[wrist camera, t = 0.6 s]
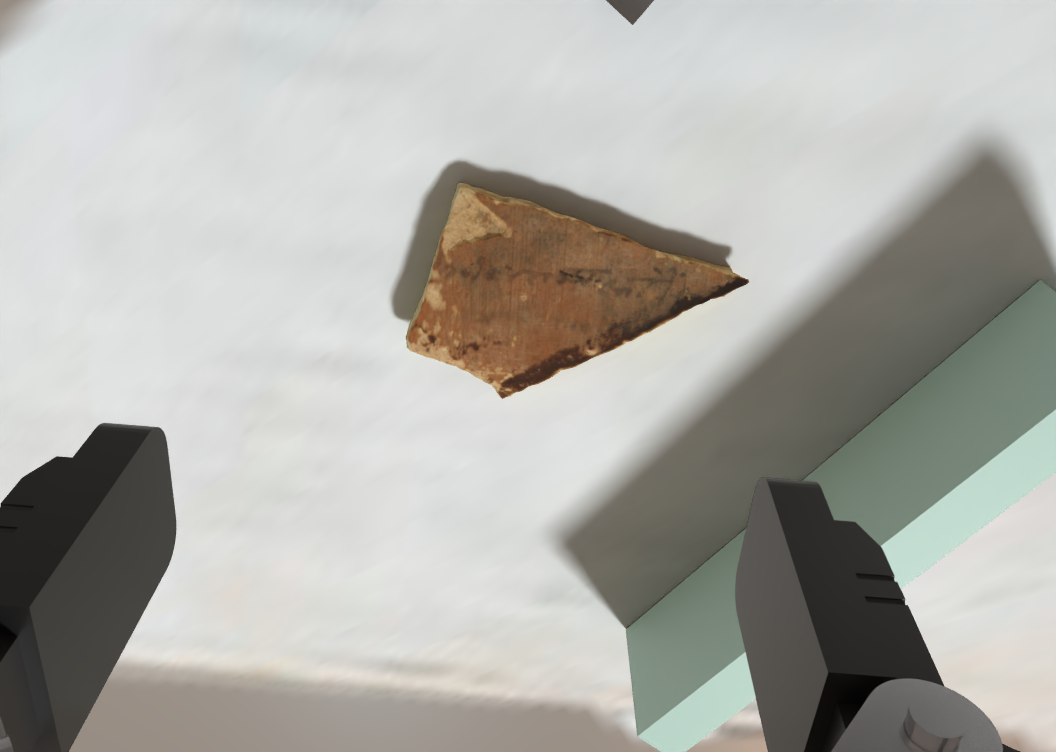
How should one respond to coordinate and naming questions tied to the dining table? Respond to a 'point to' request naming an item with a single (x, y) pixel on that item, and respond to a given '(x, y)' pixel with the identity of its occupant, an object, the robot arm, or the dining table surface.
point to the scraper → (630, 8)
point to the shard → (545, 291)
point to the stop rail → (872, 510)
